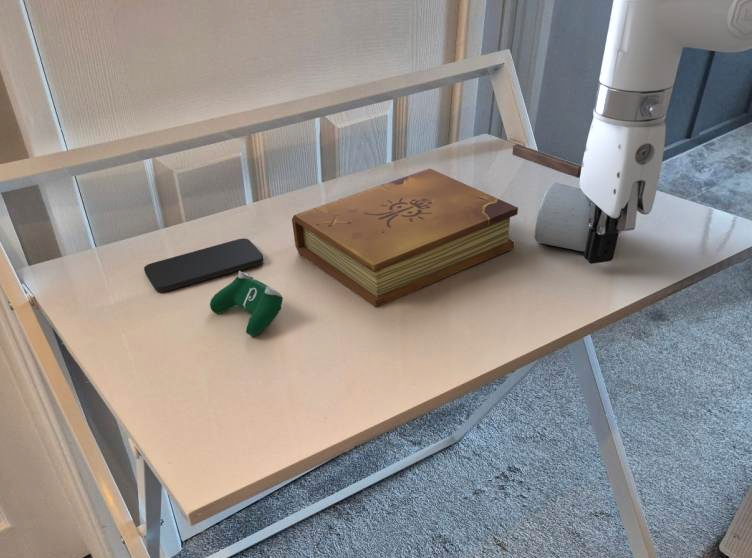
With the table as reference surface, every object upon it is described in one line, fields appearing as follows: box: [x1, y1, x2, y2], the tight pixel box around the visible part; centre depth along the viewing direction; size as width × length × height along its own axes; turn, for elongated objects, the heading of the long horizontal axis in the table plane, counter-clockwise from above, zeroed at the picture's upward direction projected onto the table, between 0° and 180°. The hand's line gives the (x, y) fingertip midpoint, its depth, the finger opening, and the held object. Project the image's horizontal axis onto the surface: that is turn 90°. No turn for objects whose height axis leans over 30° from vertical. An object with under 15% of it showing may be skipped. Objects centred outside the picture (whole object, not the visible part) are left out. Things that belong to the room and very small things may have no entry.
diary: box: [291, 168, 519, 308], centre depth 90 cm, size 23×19×6 cm
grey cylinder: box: [534, 182, 592, 252], centre depth 90 cm, size 11×8×8 cm
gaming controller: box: [209, 270, 284, 338], centre depth 81 cm, size 9×4×6 cm
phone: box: [143, 238, 265, 293], centre depth 91 cm, size 7×1×15 cm
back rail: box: [512, 143, 582, 178], centre depth 112 cm, size 14×1×2 cm, turn 38°
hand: (597, 259), depth 85 cm, fingers closed
